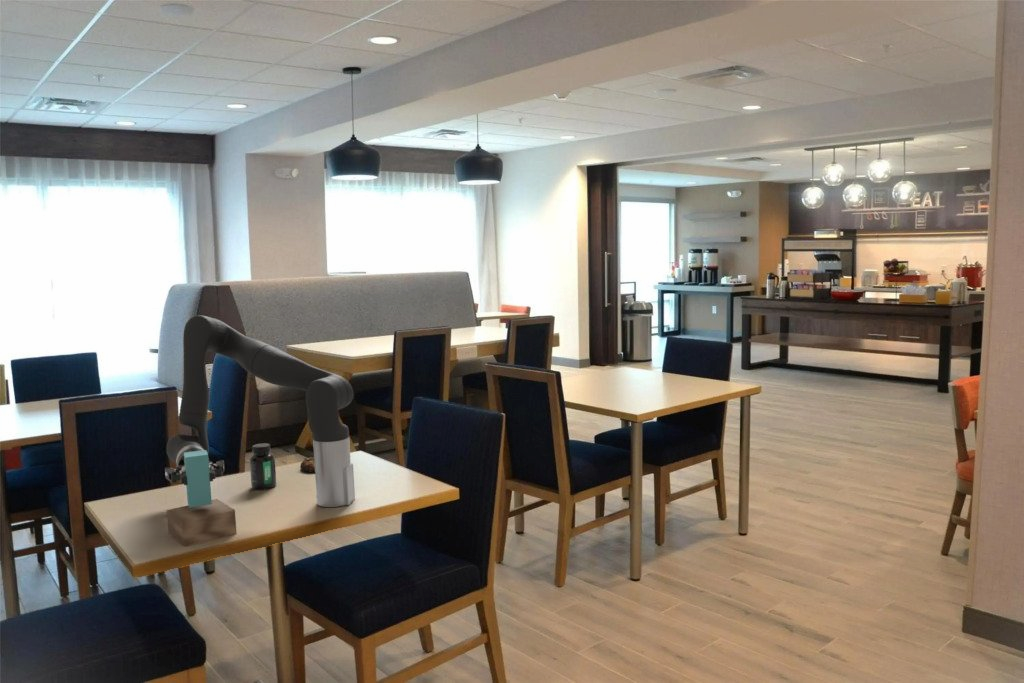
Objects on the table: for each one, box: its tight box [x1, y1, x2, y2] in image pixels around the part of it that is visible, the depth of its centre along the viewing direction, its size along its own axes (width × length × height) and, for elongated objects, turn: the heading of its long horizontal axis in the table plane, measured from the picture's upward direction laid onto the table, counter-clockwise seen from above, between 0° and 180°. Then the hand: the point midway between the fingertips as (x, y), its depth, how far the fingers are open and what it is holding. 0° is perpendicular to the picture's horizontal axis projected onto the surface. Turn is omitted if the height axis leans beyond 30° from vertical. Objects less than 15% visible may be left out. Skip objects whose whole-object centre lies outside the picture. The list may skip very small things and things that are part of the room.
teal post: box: [184, 450, 213, 508], centre depth 189 cm, size 5×5×12 cm
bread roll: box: [299, 454, 315, 474], centre depth 246 cm, size 11×11×5 cm
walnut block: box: [166, 498, 238, 547], centre depth 191 cm, size 12×12×6 cm
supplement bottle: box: [249, 442, 277, 491], centre depth 227 cm, size 7×7×12 cm
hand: (198, 478), depth 187 cm, fingers closed on teal post, 5 cm apart
